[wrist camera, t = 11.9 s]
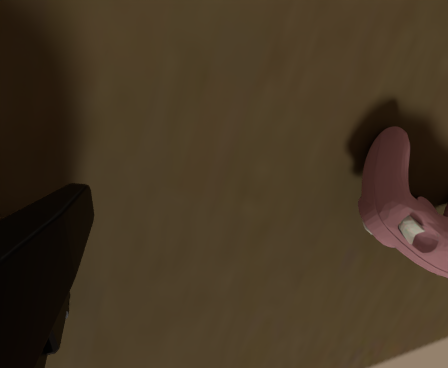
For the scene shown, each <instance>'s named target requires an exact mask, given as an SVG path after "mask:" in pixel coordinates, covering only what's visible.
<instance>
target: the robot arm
mask: <svg viewBox="0 0 448 368" xmlns="http://www.w3.org/2000/svg"><path fill="white" fill-rule="evenodd" d="M93 220H94V209H93V202H92V195H91V189H90V187H89V186H88V185H86V184H75V183H71V184H68V185H66V186H65V187H63V188H61V189H59V190H57V191H55V192H53V193H51V194H49V195H47V196H46V197H44V198H42V199H40V200H38V201H36V202H34V203H32V204H30V205H28V206H26V207H25V208H23V209H21V210H19V211H17V212H15V213H13V214H11V215H9V216H7V217H5V218H4V219H2V220H0V368H45V364H46V359H47V355H50V354H55V353H56V352H57V351H58V349H59V348H60V343H61V338H62V333H63V328H64V324H65V319H66V318H67V317H68V314H69V306H68V304H69V299H70V292H69V291H70V289H71V287H72V284H73V282H74V280H75V277H76V274H77V271H78V268H79V265H80V262H81V259H82V256H83V253H84V249H85V246H86V243H87V240H88V237H89V233H90V230H91V227H92V224H93Z"/></svg>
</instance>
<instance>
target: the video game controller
mask: <svg viewBox="0 0 448 368" xmlns="http://www.w3.org/2000/svg"><path fill="white" fill-rule="evenodd" d="M409 157H410V142H409V138H408V135H407V133H406V131H404V130H403V129H402V128H400V127H397V126H394V127H389V128H387V129H385V130H383V131H382V132H381V133H380V134H379V135H378V136H377V138H376V139H375V140H374V142H373V144H372V146H371V148H370V150H369V152H368V155H367V157H366V160H365V164H364V169H363V177H362V196H361V198H360V199H359V201H358V207H359V212H360V215H361V218H362V219H363V225H364V227H365V229H366V230H367V231H368V232H369V233H370V234H373V235H374V236H375V238H376V239H377V240H378V241H380V242H381V243H382V244H384V245H385V246H388V247H392V248H393V247H396V248H397V249H398V250H399V251H400V252H401V253H403V254H404V255H405V256H407V257H408V258H409V259H411V260H412V261H413V262H415V263H416V264H418V265H420V266H421V267H423V268H425V269H427V270H428V271H430V272H433V273H435V274H438V275H441V276H445V277H447V278H448V203H447V205H446V208H445V211H444V214H443V215H441V214H438V212H437V211H436V209H435V208H434V206H433V205H432V204H431V203H430V202H429V201H428V200H427V199H426V198H424V197H421V196H420V197H418V198H416V199H415V198H414V197H413V196H412V195H411V193H410V191H409V183H408V168H409Z"/></svg>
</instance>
